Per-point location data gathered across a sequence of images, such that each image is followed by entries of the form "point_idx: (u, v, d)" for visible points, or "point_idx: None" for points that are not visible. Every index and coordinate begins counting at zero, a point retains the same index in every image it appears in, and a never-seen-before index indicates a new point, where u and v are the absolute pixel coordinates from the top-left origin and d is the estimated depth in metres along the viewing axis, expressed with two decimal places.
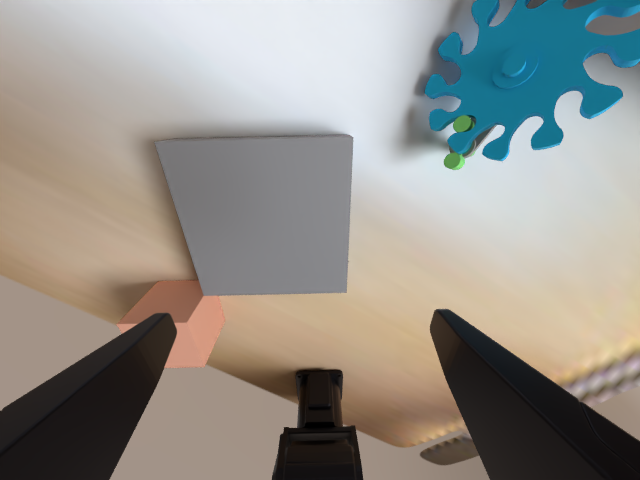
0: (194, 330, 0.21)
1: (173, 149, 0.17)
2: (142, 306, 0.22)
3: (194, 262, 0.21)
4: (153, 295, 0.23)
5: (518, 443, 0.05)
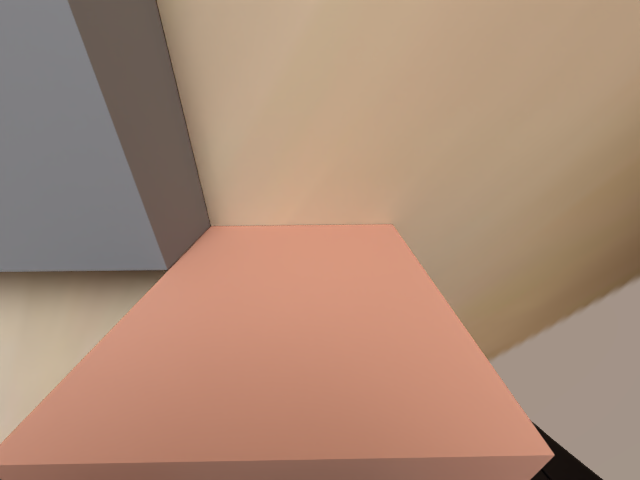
0: (168, 402, 0.03)
1: None
2: None
3: None
4: None
5: None
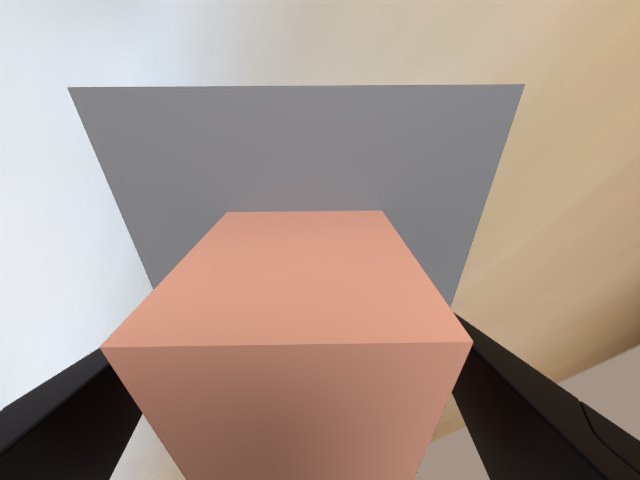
0: (215, 318, 0.04)
1: None
2: None
3: None
4: None
5: (518, 443, 0.05)
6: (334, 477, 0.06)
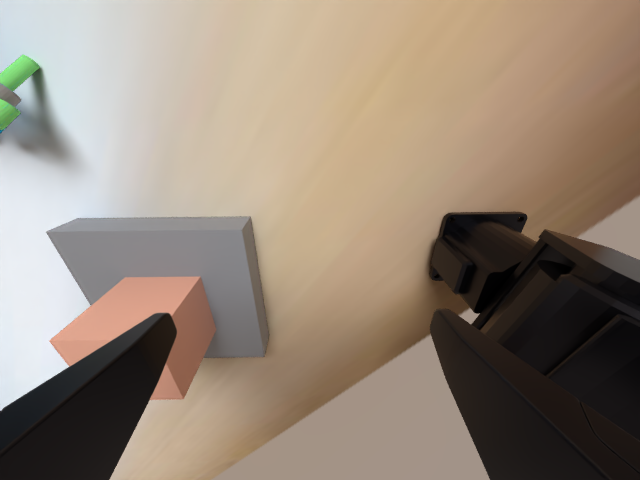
0: (86, 332, 0.14)
1: None
2: None
3: (225, 356, 0.23)
4: None
5: (518, 443, 0.05)
6: None
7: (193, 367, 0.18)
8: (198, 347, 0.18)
